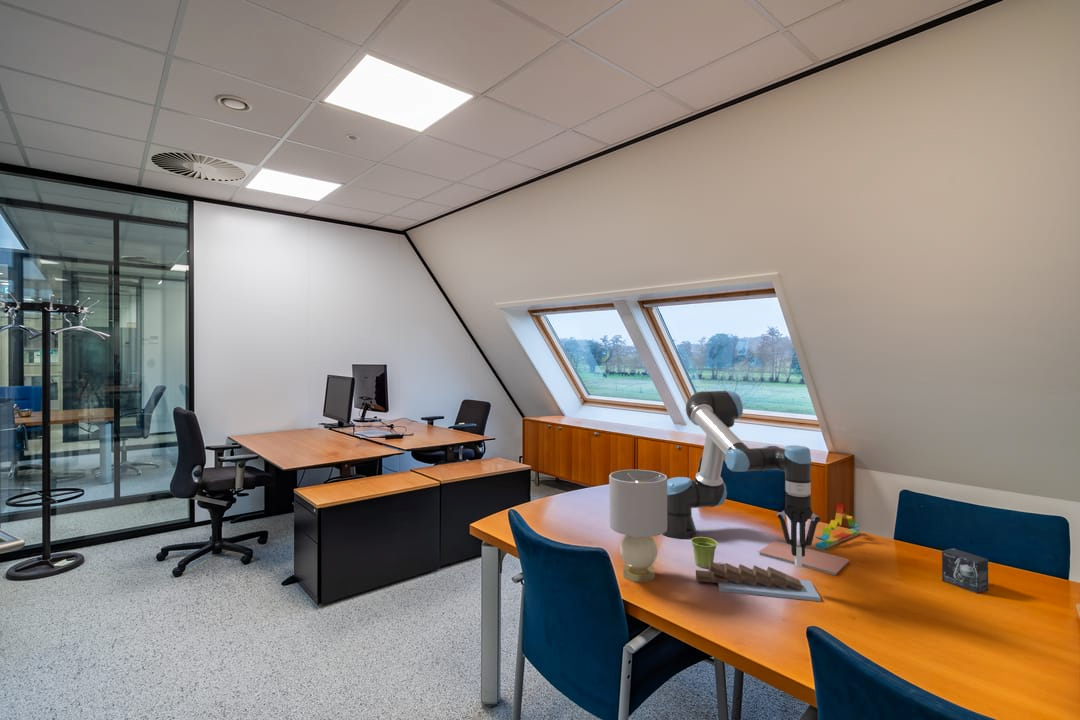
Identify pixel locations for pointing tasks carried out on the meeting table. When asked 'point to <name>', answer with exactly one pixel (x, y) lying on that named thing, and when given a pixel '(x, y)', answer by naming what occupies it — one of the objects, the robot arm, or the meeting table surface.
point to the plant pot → (703, 550)
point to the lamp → (638, 518)
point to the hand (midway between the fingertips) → (798, 565)
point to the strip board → (772, 590)
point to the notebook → (805, 558)
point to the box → (965, 570)
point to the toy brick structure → (838, 538)
